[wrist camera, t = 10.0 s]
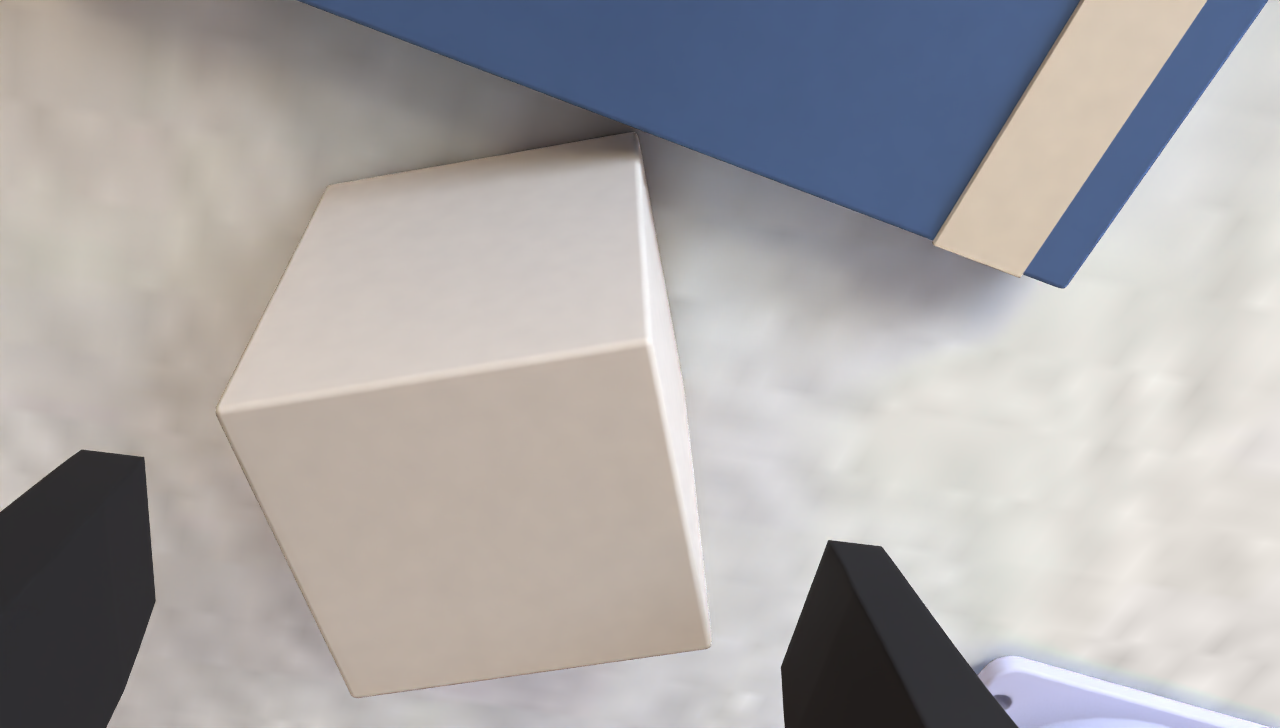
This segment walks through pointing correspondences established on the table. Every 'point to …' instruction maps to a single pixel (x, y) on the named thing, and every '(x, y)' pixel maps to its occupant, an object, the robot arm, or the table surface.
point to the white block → (478, 423)
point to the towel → (876, 97)
